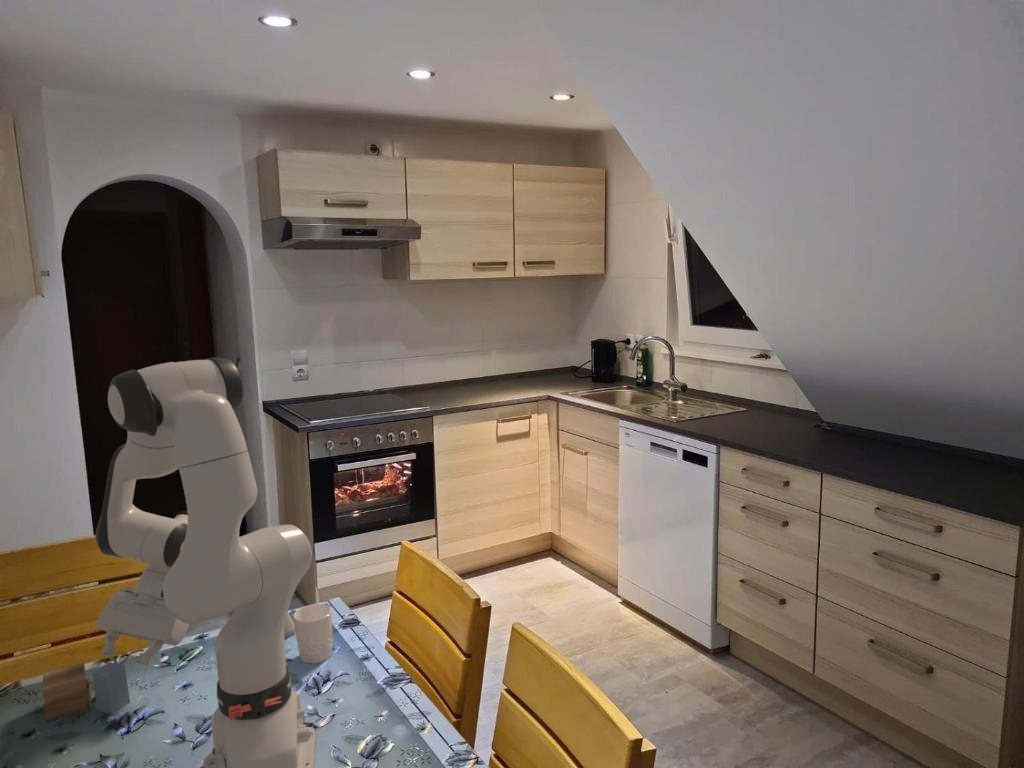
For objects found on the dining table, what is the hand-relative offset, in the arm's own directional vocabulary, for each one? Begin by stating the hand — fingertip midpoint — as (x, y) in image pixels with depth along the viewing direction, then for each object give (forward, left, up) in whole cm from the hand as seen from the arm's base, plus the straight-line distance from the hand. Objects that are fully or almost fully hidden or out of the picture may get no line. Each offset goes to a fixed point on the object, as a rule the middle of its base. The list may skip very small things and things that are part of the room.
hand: (123, 659), depth 149 cm
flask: (+12, -31, -8) cm, 34 cm away
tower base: (+1, +11, -8) cm, 13 cm away
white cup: (-2, -37, -8) cm, 37 cm away
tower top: (+1, +11, -5) cm, 12 cm away
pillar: (-3, +2, -8) cm, 9 cm away
